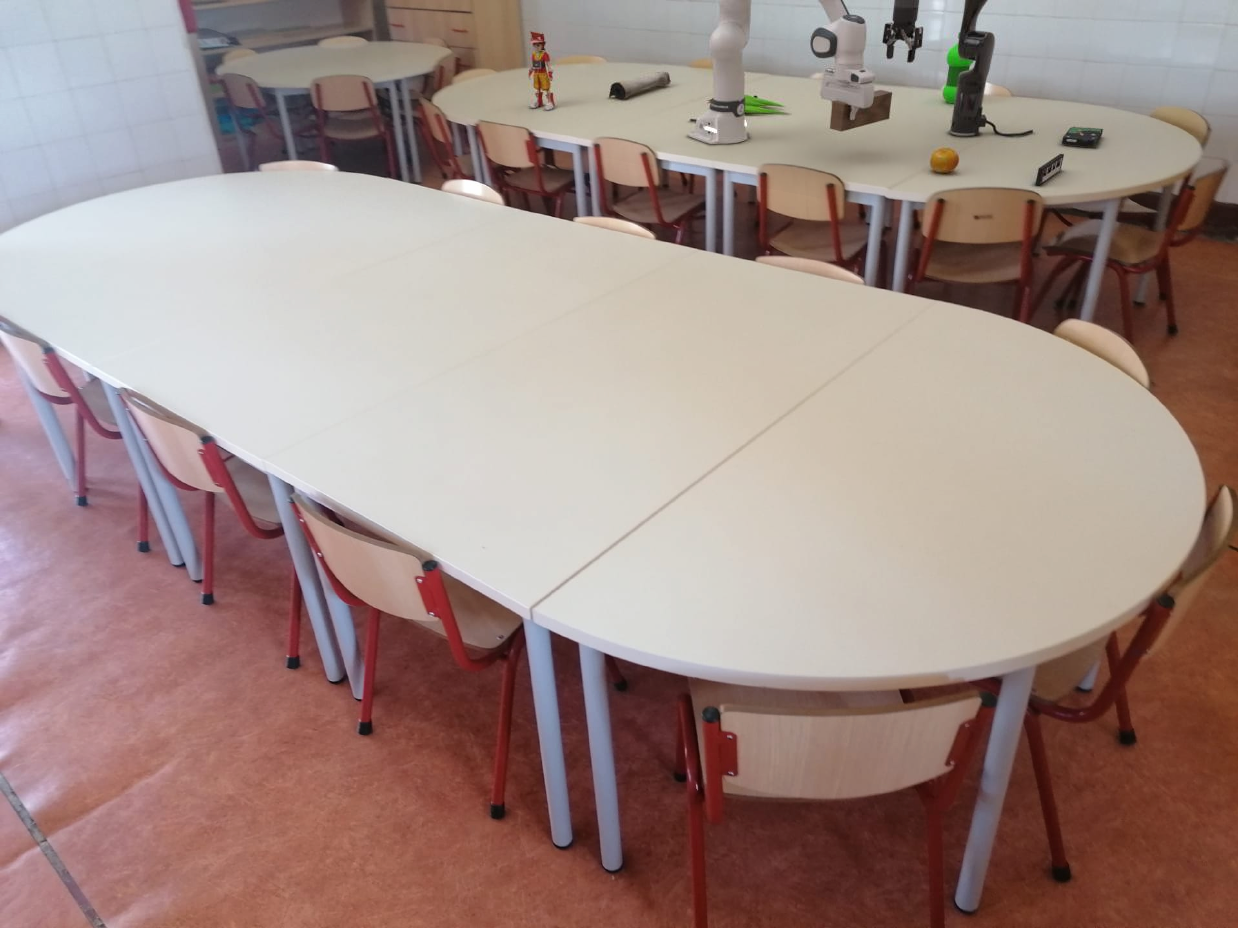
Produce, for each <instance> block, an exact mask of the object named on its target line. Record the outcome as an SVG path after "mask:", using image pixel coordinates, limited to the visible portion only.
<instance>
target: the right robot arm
mask: <svg viewBox="0 0 1238 928" xmlns="http://www.w3.org/2000/svg"><path fill="white" fill-rule="evenodd" d="M893 1H894V2H893V10H892V19H891V20H892V22H887V23H885V24H884V29H883V34H882V41H881V42H882V44H885V45H886V53H885V54H886V59H887V60H890V59H891V60H892V59H893V58H894V54H895V53H894V52H895V45H896V42H897V41H902V42H905V44H906V45H907V47H908V51H907V59H906V62H907V63H909V64H910V63H913V62H914V61H915V58H916V51H917V49H920V48H922V47H923V38H924V27H923V26H916V22H917V21H918V17H919V16H918V15H919V8H920V0H893ZM988 1H989V0H964V7H963V14H962V20H961V25H960V30H959V32H960V35H959V34H958V35H959V38H958V42H957V43H958V55H959V57H960V58H961V59H964V60H971V61H973V62H974V66H973V67H972V68H971V69H970V68H969V70H967V71H963V72H961V73H960V74H959V77H958V83H957V90H956V96H955V103H953V110H952V115H951V119H950V121H949V124H950V129H949V134H950V135H952V136H956V137H973V136H979V131H980V128H986V124H987V125H989V126H991V127H992V129H993V130H992V131H993V132H994V134H996V135H999V136H1002V137H1020V136H1022V137H1023V136H1025V135H1028V134H1032V133H1033V132H1034V129H1029V130H1026V131H1023V132H1015V133H1013V132H1012V133H1003V132H999V131H998V130H997V126H996V125H995V123H993V122H992V121H990V120H987V116H986V114H983V109H984V107H983V102H984V96H985V90H986V83H987V79H988V76H989V73H990V71H991V70H990V69H991V64H992V60H993V56H994V51H995V45H996V36H995V34H994V33H993V32H992V31H984V30H977V22H978V19H979V16H980V14H981V11H982V10H983V8H984V7H985V5H986V4H987V2H988Z"/></svg>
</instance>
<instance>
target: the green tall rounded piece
mask: <svg viewBox="0 0 1238 928" xmlns="http://www.w3.org/2000/svg"><path fill="white" fill-rule="evenodd" d="M959 35H960V31H959V32H958V36H957V39H959ZM946 63H947V64H948V69H947V70H948V71H947V76H946V77H947V78H946V84H945V85H944V87H943V90H942V97H943V99H944V100H945V101H946V102H947V103H948V104H954V103H955V96H956V90H957V83H958V77H959V74H960V73H961V72H963V71H967V70H970V67H971V65H972V64H973V63H974V61H971V60H964V59H961V58H960V57H959V55H958V42H957V43H956V44H954V45H953V46H952V47H951V48H950V49H949V50H948V52H947V54H946Z"/></svg>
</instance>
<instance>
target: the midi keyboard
mask: <svg viewBox="0 0 1238 928" xmlns="http://www.w3.org/2000/svg"><path fill="white" fill-rule="evenodd" d="M1064 157H1065V153H1059V154H1058V155H1056V156H1055V157H1052V159H1051V160H1049V161H1047V162H1045V164H1042V165H1041V166H1039V167H1038V169H1037V175H1036V179H1035V186H1040V185H1042V183H1044V182H1045V181H1047V180H1048V179H1049V178H1051V177H1052V176H1054V175H1055V174H1056V173H1058V172H1060V171H1061V170H1062V165H1063V161H1064Z"/></svg>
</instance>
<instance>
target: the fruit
mask: <svg viewBox="0 0 1238 928" xmlns="http://www.w3.org/2000/svg"><path fill="white" fill-rule="evenodd" d="M959 163H960V156H959V154H958V152H957V151H956V150H955V149H953V148H951V147H942V148H938V149H936V150H934V151H933V153H932V154H931V155H930V159H929V166H930V168H931V169H932V170H933V171H934V172H936V173H939V174H940V173H943V174H944V173H945V174H946V173H951V172H953V171H954V170H956V168H957V167H958V165H959Z"/></svg>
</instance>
